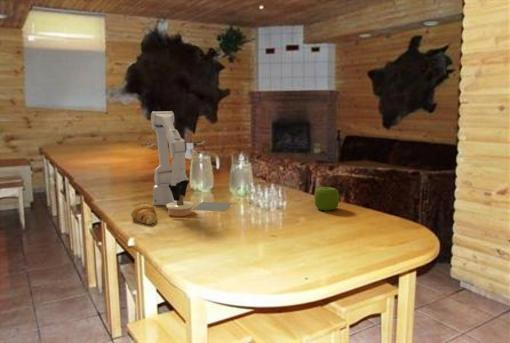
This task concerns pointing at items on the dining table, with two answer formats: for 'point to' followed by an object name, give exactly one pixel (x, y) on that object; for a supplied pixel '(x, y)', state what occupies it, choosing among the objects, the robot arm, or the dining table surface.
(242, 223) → the dining table surface
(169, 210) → the brown rounded ring
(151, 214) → the croissant
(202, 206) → the mat
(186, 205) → the lid
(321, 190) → the green rounded cube
